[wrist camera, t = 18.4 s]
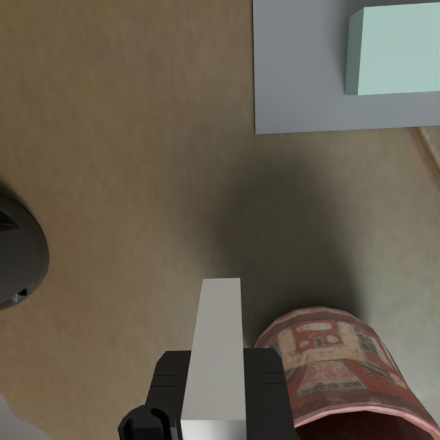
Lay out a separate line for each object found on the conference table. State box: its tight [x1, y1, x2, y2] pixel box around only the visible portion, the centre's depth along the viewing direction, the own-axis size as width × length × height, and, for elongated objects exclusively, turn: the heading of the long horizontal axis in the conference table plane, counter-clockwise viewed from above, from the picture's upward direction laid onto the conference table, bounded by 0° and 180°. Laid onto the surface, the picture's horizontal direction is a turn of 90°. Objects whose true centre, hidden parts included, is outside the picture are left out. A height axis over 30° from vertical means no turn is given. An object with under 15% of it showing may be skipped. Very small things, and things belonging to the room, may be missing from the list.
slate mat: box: [253, 0, 440, 134], centre depth 35 cm, size 20×16×1 cm
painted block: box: [345, 2, 440, 95], centre depth 33 cm, size 4×7×9 cm
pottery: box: [254, 306, 440, 440], centre depth 39 cm, size 18×18×18 cm
